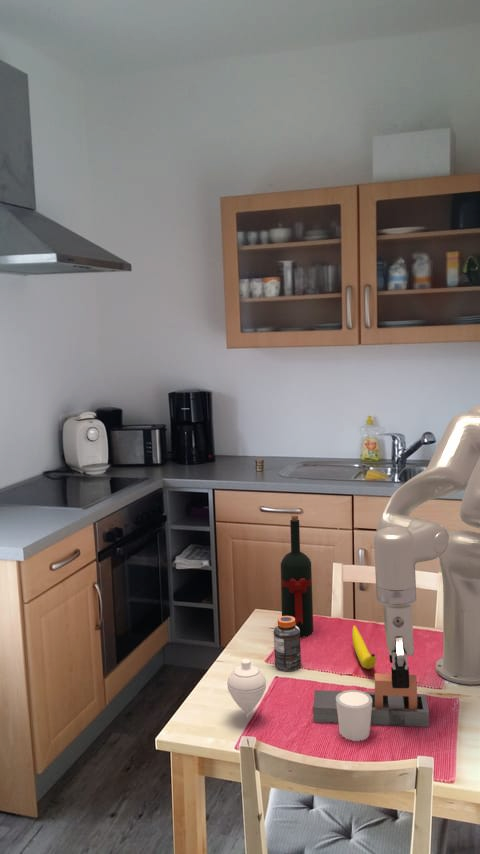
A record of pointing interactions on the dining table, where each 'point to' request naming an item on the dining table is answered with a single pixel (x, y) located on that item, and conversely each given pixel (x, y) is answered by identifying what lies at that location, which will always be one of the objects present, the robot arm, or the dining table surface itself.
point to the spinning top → (246, 685)
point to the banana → (362, 650)
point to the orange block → (394, 690)
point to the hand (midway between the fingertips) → (399, 674)
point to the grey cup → (354, 714)
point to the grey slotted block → (375, 710)
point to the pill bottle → (287, 644)
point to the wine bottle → (297, 583)
